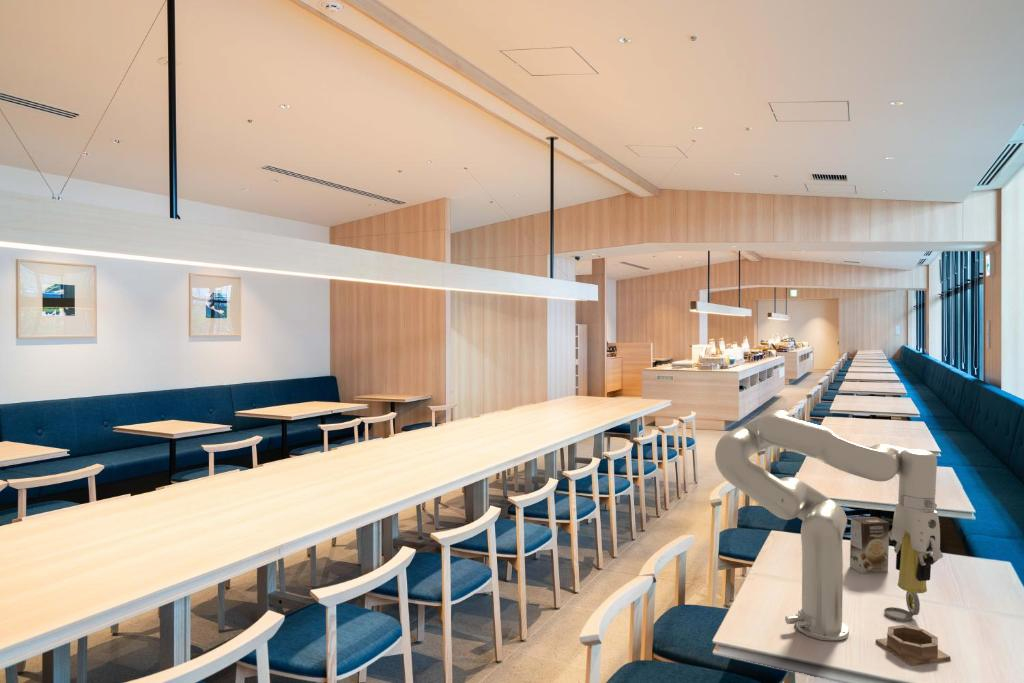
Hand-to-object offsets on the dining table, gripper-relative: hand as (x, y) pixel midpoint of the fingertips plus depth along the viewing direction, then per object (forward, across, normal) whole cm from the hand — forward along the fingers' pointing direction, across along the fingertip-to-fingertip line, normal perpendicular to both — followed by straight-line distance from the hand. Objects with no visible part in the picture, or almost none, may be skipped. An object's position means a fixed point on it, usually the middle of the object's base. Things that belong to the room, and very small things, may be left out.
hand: (912, 573), depth 159 cm
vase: (+4, 0, 0) cm, 4 cm away
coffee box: (+20, +45, -28) cm, 56 cm away
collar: (+19, -1, 0) cm, 19 cm away
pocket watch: (+19, +15, -12) cm, 27 cm away
